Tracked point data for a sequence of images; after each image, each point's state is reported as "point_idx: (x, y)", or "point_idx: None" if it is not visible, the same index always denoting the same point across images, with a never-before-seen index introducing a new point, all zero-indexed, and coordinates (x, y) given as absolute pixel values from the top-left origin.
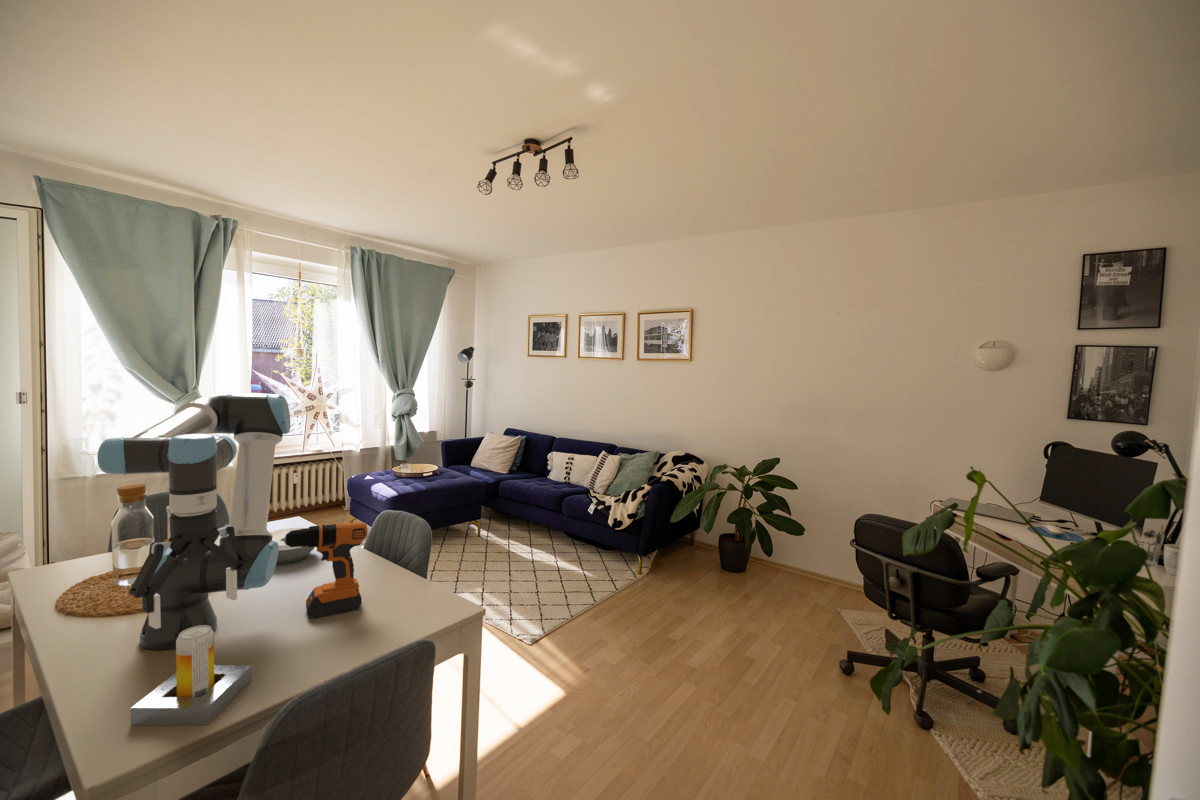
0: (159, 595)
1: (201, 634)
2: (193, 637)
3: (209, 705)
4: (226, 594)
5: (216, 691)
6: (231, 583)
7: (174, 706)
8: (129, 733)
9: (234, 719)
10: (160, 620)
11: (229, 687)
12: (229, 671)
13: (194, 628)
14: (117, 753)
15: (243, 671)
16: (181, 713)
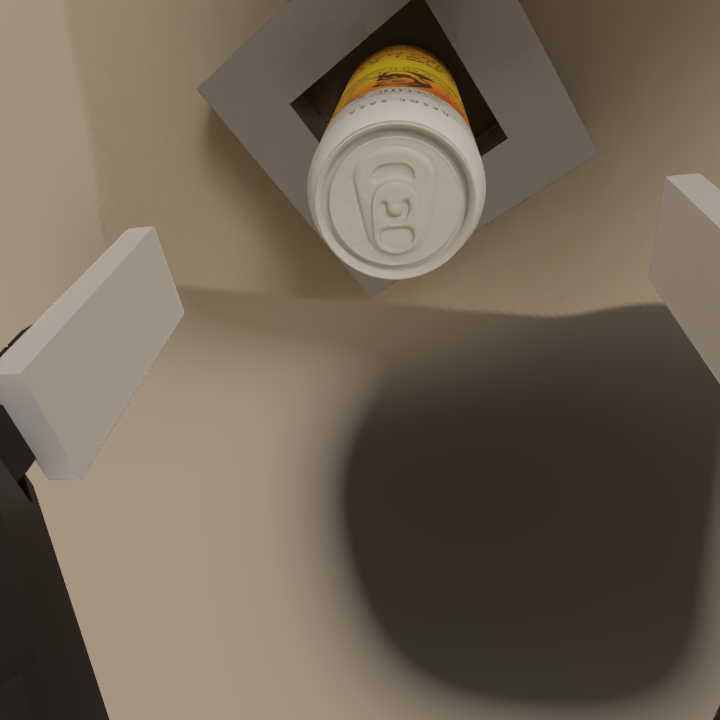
0: (78, 478)
1: (408, 253)
2: (368, 254)
3: (380, 290)
4: (674, 190)
5: None
6: (708, 334)
7: (306, 210)
8: (208, 124)
9: (430, 304)
10: (167, 339)
11: None
12: (524, 125)
13: (414, 139)
14: (176, 203)
15: (552, 174)
16: None
